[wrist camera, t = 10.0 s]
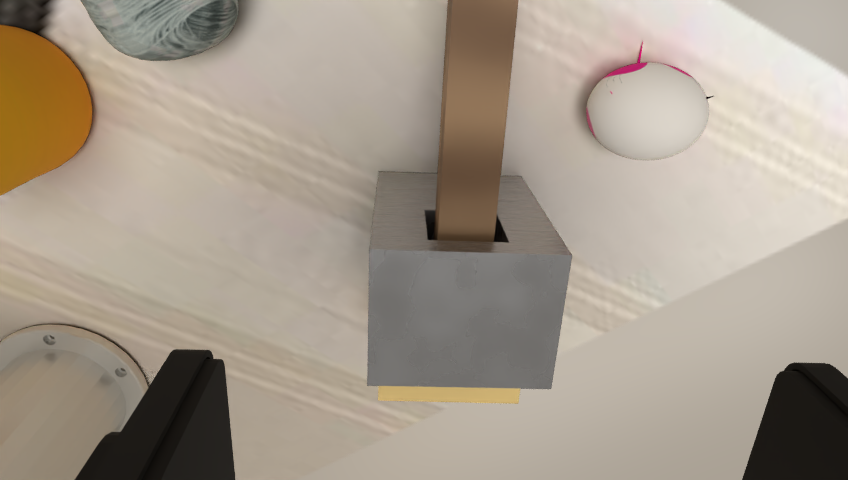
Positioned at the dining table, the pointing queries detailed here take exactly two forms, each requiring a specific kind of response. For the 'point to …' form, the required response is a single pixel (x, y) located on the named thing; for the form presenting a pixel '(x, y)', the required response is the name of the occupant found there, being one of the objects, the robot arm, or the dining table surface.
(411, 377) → the block
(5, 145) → the beer bottle
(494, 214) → the shaft
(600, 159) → the dining table surface
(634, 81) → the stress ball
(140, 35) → the spool
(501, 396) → the block
